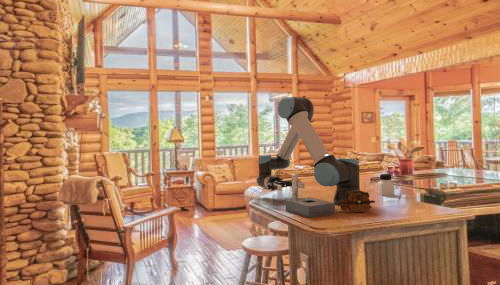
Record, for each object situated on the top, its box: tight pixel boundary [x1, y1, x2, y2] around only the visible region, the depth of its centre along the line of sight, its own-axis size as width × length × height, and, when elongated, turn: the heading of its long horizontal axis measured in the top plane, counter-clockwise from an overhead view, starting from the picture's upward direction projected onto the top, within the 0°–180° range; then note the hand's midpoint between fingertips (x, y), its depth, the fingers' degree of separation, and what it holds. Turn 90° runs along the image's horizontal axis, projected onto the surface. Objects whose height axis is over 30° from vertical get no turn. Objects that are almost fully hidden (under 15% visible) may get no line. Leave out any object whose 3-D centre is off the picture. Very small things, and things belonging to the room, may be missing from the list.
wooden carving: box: [338, 190, 376, 213], centre depth 171 cm, size 16×5×10 cm, turn 87°
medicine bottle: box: [377, 173, 395, 197], centre depth 217 cm, size 7×7×12 cm
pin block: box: [285, 196, 336, 219], centre depth 175 cm, size 20×14×5 cm
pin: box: [291, 173, 300, 199], centre depth 192 cm, size 3×3×16 cm
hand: (292, 187), depth 193 cm, fingers open, 13 cm apart
